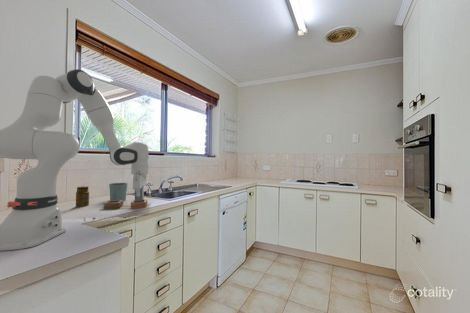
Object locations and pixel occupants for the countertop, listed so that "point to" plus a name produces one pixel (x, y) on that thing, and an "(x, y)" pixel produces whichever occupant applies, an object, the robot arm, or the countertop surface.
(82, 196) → the condiment
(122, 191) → the drinking glass
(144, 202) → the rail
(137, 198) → the peg
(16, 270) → the countertop surface
